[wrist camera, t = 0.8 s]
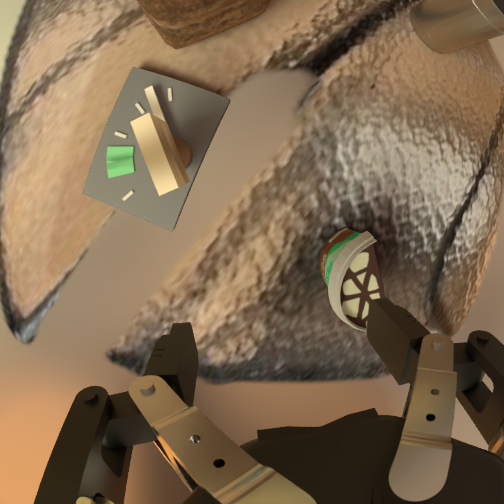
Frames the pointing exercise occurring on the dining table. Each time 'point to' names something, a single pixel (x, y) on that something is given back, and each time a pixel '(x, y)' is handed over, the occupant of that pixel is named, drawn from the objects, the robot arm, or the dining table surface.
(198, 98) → the gauge plate
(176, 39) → the bread
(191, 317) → the dining table surface
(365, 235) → the food container
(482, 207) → the dining table surface
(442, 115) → the dining table surface
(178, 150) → the dial needle
